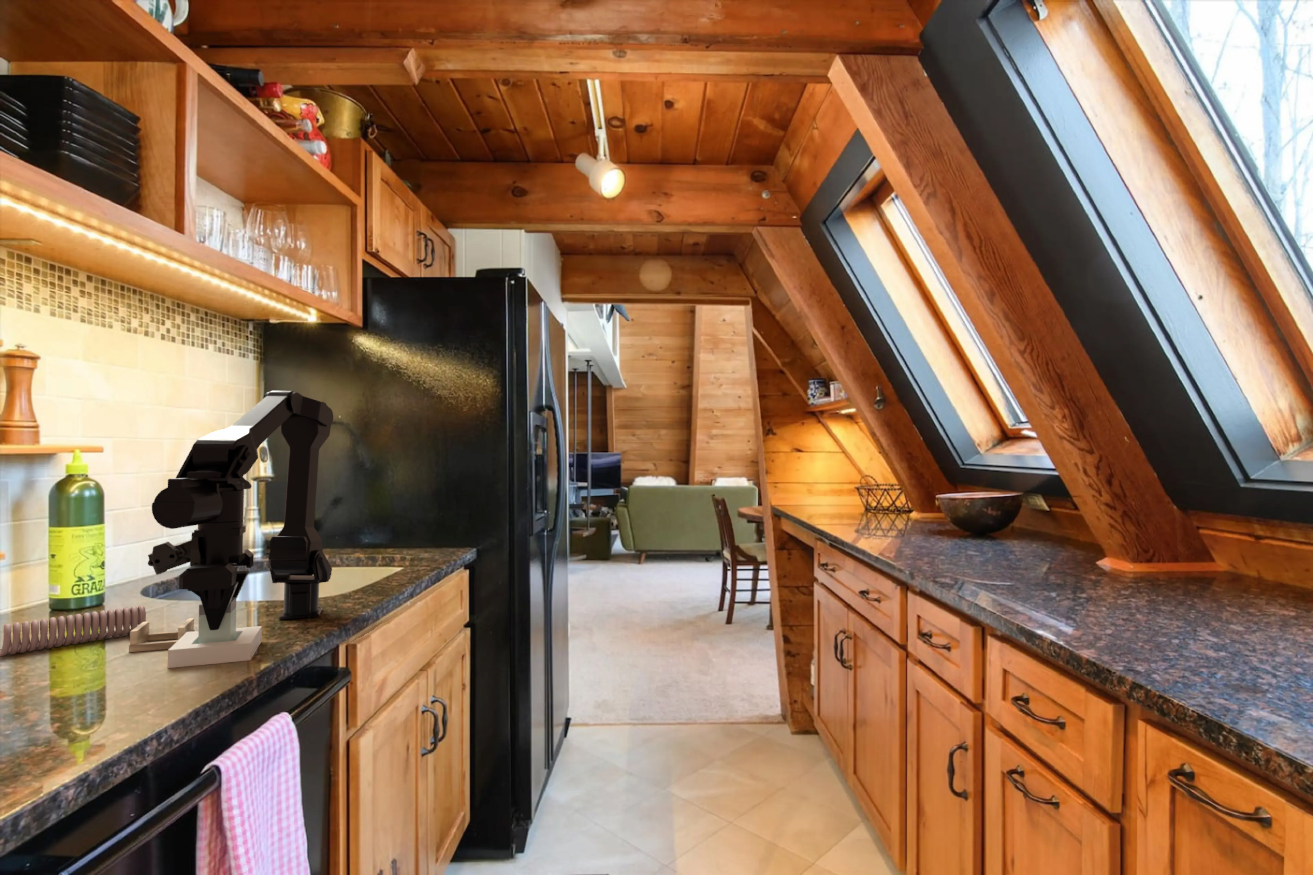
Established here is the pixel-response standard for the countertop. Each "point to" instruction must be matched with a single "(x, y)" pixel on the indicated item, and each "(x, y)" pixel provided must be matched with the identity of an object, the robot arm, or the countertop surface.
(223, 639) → the plug
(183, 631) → the light brown square holder
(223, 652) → the plate
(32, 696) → the countertop surface
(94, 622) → the coil
